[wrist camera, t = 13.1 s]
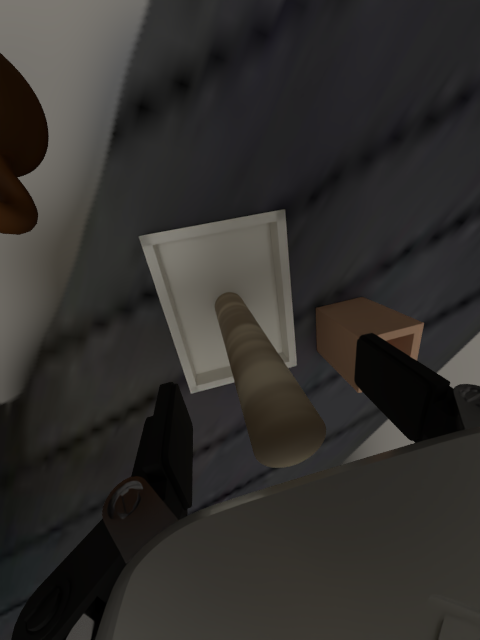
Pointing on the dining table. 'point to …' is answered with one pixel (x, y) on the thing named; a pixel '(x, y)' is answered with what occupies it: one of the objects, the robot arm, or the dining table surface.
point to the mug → (18, 148)
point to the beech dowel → (267, 390)
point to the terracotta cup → (362, 332)
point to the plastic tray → (222, 288)
